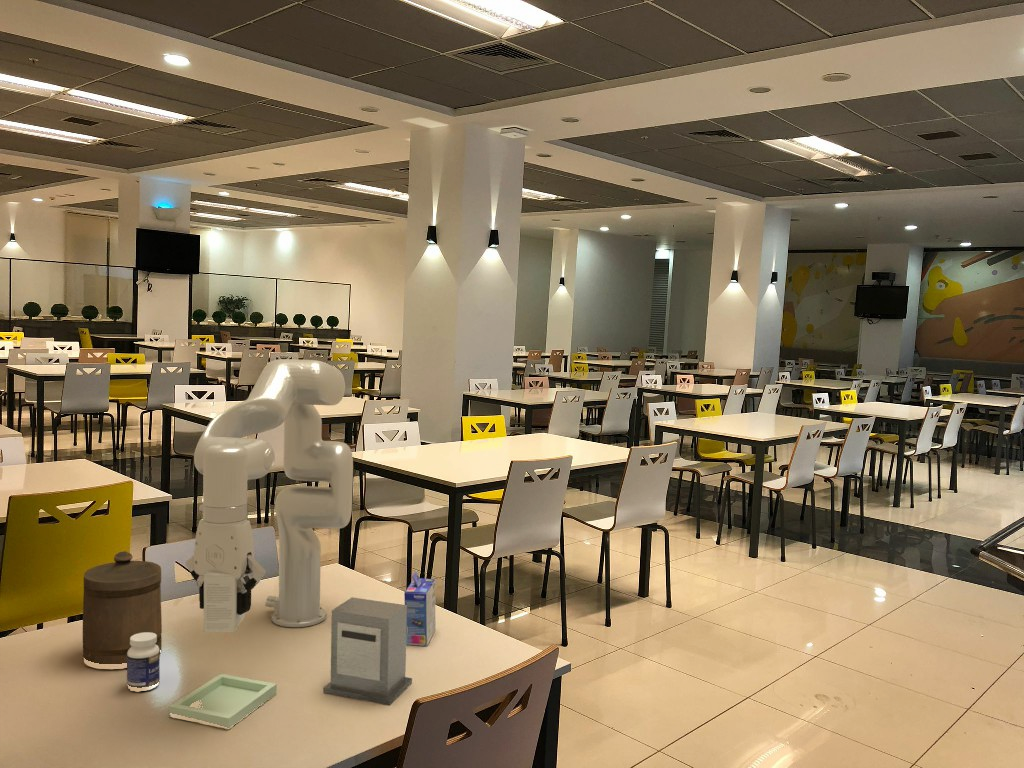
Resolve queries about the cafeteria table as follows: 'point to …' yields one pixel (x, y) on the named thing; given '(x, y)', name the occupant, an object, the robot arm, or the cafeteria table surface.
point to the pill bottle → (143, 660)
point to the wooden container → (120, 607)
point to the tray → (224, 699)
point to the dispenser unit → (368, 651)
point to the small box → (221, 603)
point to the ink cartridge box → (420, 611)
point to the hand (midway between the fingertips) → (225, 608)
